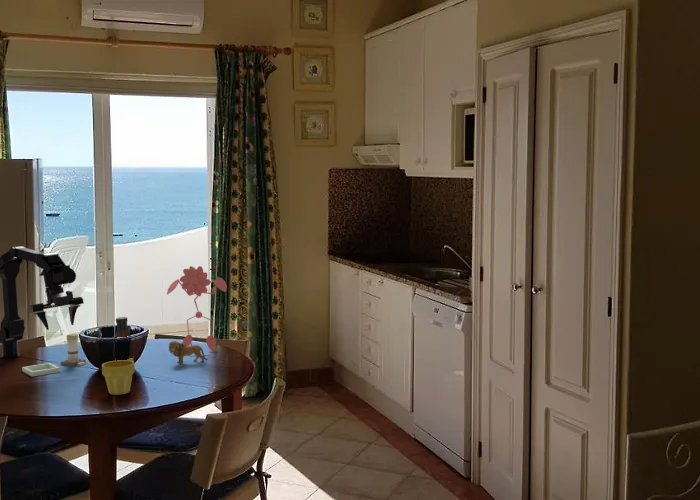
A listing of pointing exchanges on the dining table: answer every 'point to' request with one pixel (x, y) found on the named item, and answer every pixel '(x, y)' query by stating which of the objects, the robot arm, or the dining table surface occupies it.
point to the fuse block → (75, 364)
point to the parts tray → (40, 369)
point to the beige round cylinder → (72, 347)
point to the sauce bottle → (122, 329)
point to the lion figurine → (185, 351)
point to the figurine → (197, 285)
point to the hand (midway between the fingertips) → (60, 327)
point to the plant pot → (118, 376)
